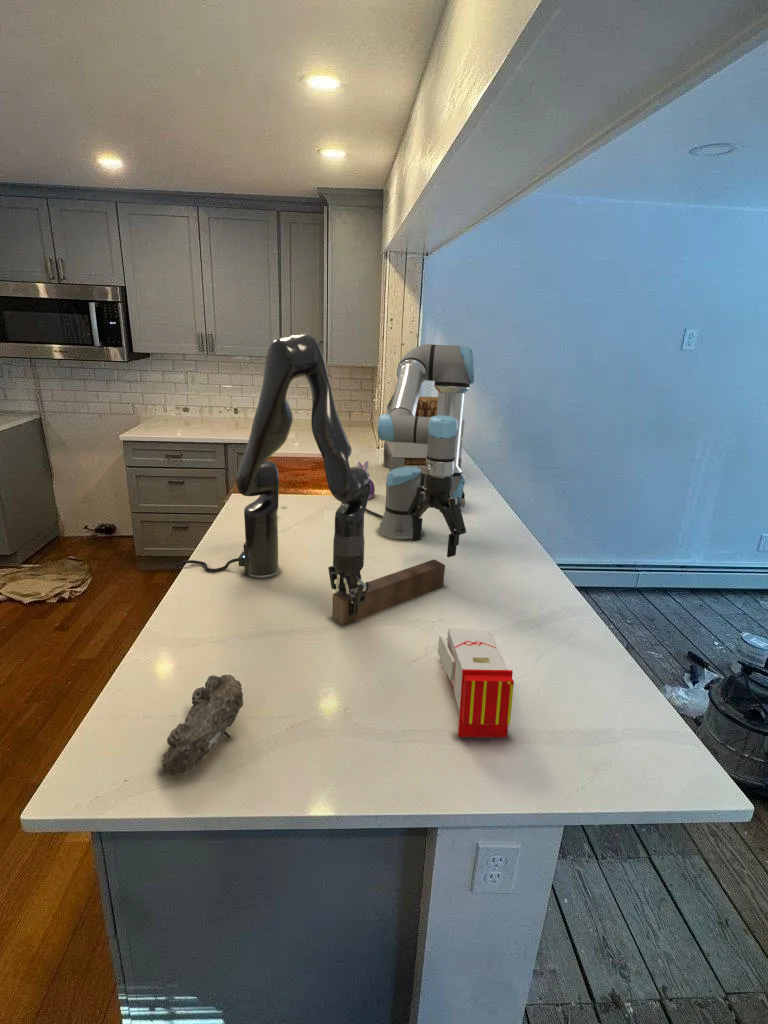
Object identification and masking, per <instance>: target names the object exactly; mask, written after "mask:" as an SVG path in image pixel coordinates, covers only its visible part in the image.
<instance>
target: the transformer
mask: <svg viewBox="0 0 768 1024" xmlns="http://www.w3.org/2000/svg"><path fill="white" fill-rule="evenodd" d="M393 396H394V393H393V394H392V395H391V398H390V400H389V402H388V404H387V405H386V413H385V414H389V411H390V407H391V403H392V399H393ZM437 404H438V396H419V398H418V403H417V408H416V413H415V416H419V417H432V416H437ZM464 429H465V419H464V418H462V425H461V436H460V447H459V459H458V467H459V468H460V469H461V470H462V461H463V460H462V453H463V442H464V441H463V440H462V439H463V438H464V431H465V430H464ZM426 458H427V444H417V443H403V442H391V441H384V442H383V466H384V467H388V468H389V472H390V471H391V470H393V469H396V468H400V467H405V466H406V467H417V466H418V467H426Z"/></svg>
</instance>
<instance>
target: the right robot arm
mask: <svg viewBox="0 0 768 1024" xmlns="http://www.w3.org/2000/svg"><path fill="white" fill-rule="evenodd" d="M396 378H397V380H396V384H395V388H394V392H393V394H394V396H393V395H392V396H393V399H392V403H391V407H390V411H389V414H386V413H382V414H380V416H379V418H378V421H377V438H378V439H379V440H380V441H384V442H386V441H391V442H403V443H417V444H427V458H426V466H425V472H422V469H421V468H420V467H419V466H418V467H417V466H404V467H400V468H396V469H393V470H391V471H390V470H389V471H388V473H387V475H386V482H385V504H384V505H385V507H384V508H385V509H384V513H383V515H382V514H379V513H377V512H375V511H372V510H370V509H368V508H366V510H365V512H366V513H368V514H371V515H373V516H375V517H378V518H381V522H379V527H378V533H379V534H380V535H381V536H382V537H385V538H387V539H389V540H395V541H410V540H412V542H418V541H421V540H422V535H423V515H424V514H425V513H426V511H427V510H428V509H429V508H431V509H436V510H438V511H439V512H440V513H441V514H442V516H443V518H444V521H445V523H446V525H447V527H448V530H449V531H450V533H449V534H448V537H447V538H448V541H447V550H446V551H447V552H446V557H447V558H453V557H455V556H457V548H458V547H457V546H459V543H460V536H461V535H464V534H466V533H467V528H466V525H465V521H464V518H463V517H464V516H463V514H462V509H461V506H460V501H461V497H462V493H463V491H464V488H465V483H466V477H465V476H464V475H463V474H462V473H463V470H462V468H461V469H460V468H459V467H458V459H459V447H460V439H461V438H460V436H461V425H462V419H463V414H464V413H463V412H464V403H465V394H466V393H467V392H468V391H469V390H470V388H471V385H472V384H475V355H474V350H473V348H472V347H470V346H464V345H455V344H454V345H451V344H450V345H449V344H432V343H427V344H421V345H418V346H416V347H414V348H412V349H411V350H410V351H407V353H405V355H403V357H401V359H400V361H399V363H398V364H397V368H396ZM425 381H428V382H434V386H433V387H434V389H435V390H436V391H437V392H438V393H437V397H438V404H437V416H432V417H419V416H415V413H416V408H417V403H418V398H419V397H420V392H421V388H422V384H423V383H424V382H425Z"/></svg>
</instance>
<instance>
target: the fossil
mask: <svg viewBox="0 0 768 1024" xmlns="http://www.w3.org/2000/svg"><path fill="white" fill-rule="evenodd" d="M243 696H244V694H243V687H242V684H241V682H240V680H237V679H236V678H235V677H234V676H233V675H232V674H222V675H221V676H217V675H209V676H208V677H207V678H206V681H205V684H204V686H201V687H197V688H195V690H193V693H192V697H191V704H192V705H191V707H190V709H189V710H188V713H187V715H186V716H185V719H184V723H178V724H177V726H176V727H175V728H173V729H172V730H171V731H170V734H169V735H168V737H167V738H166V743H167V745H168V748H167V750H166V752H165V753H163V755H162V757H163V759H161V766H162V771H163V773H168V774H169V775H170V776H174V775H178V774H183V773H185V774H189V773H190V772H191V771H192V770H193V769H194V767H196V766H197V765H198V764H199V763H200V762H202V760H203V759H204V758H205V757H206V756H207V755H208V754H209V753H210V752H211V751H213V750H214V749H215V747H216V746H217V743H218V741H220V740H221V739H222V737H223V736H225V737H226V738H228V739H230V738H231V735H230V734H229V733H228V732H227V729H228V728H231V727H232V725H233V724H234V723H235V722H236V719H237V717H238V714H239V713H240V710H241V709H242V708H243V707H244V699H243V698H244V697H243Z"/></svg>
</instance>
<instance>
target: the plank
mask: <svg viewBox="0 0 768 1024" xmlns="http://www.w3.org/2000/svg"><path fill="white" fill-rule="evenodd" d="M445 571H446V564H445V563H443V562H441V561H438V560H436V559H431V560H427V561H425V562H422V563H419V564H416V565H414V566H410V567H407V568H405V569H401V570H399V571H396V572H393V573H391V574H390V573H389V574H387V575H385V576H381V577H379V578H376V579H372V580H370V581H367V583H368V584H369V588H368V591H367V595H366V599H365V602H362V603H359V606H358V614H357V615H355V616H352V617H351V616H350V615H349V603H350V600H349V595H347V592H346V590H343V591H341V592H338V593H335V592H334V593H332V614H331V615H332V616H331V617H332V618H331V619H332V620H333V621H335V622H336V623H338V624H339V625H341V626H342V627H344V626H347V625H349V624H352V623H355V622H357V621H360V620H362V619H364V618H368V617H369V616H372V615H375V614H378V613H380V612H383V611H385V610H387V609H390V608H392V607H395V606H398V605H400V604H403V603H405V602H408V601H410V600H413V599H415V598H418V597H421V596H423V595H425V594H429V593H430V592H434V591H436V590H439V589H441V588H444V583H445ZM354 589H355V588H353V589H351V590H354ZM353 598H355V594H353Z"/></svg>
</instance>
